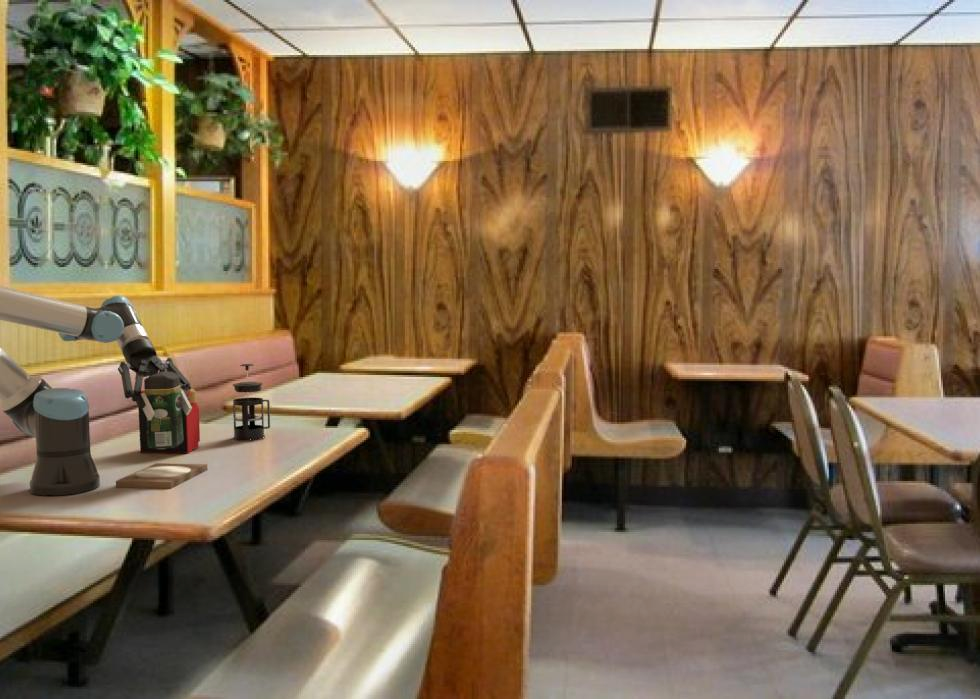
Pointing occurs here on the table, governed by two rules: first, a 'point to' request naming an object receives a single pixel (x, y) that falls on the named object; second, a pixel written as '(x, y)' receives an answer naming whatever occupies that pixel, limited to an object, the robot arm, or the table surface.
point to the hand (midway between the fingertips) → (170, 414)
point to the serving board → (161, 475)
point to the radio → (189, 429)
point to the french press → (249, 411)
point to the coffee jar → (164, 410)
